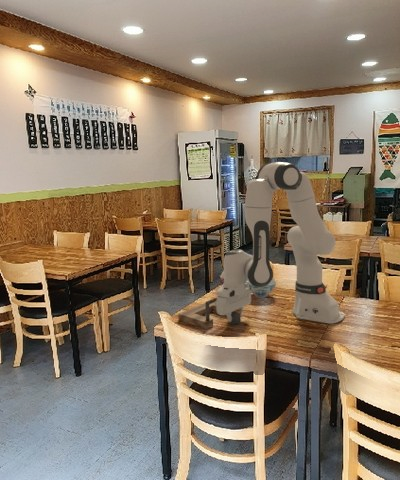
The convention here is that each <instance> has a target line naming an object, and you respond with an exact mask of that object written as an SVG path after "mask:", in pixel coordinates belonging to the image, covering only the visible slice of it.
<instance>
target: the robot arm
mask: <svg viewBox="0 0 400 480" xmlns="http://www.w3.org/2000/svg"><path fill="white" fill-rule="evenodd" d="M313 189H314V188H313V185H312V182H311V181H310V178H309V176H308V174H307V173H305V172H303V171H300V170H299V168H298V167H297V166H296V165H295V164H293V163H290V162H283V161H282V162H281V161H276V162H268V163H265V164H262V166H260V167H259V168H258V171H257V173H256V176H255V179H253V180H251V181H249V183H248V184H247V188H246V192H245V200H244V220H245V224H246V225H247V227H248V229H249V232H250V233H251V237H252V246H253V247H252V254H250V253H247V252H245V251H244V250H243V249H239V248H237V249H232V250H229V251H228V252H226V253H225V255H224V257H223V271H224V274H225V278H224V284H223V285H222V286H221V285H220V287H219V288H218V289H217V290H215V291H216V292H215V295H216V296H217V297H216V298H217V300H216V310H217V312H216V314H218V315H220V316H226V317H227V321H228V323H229V322H231V321H233V317H231V312H233V311H235V310H237V309H238V310H240V311H241V317H242V316H243V312H244V311H243V310H244V307H246V306H247V305H250V304H251V302H252V292H251V291H250V289H249V285H248V284H247V283H246V280H248V279H249V282H250V283H251V284H252V285H253V286H255V287H264V286H267V285H268V284H269V283H270V282H271V281H272V279H274V271H273V269H272V266H271V262H270V231H271V230H270V229H271V220H272V211H273V196H274V194H275V192H276V191H278V190H282V191H283V190H284V192H285V193H286V198H287V203H288V207H289V208H288V209H289V212H290V215H291V219H292V220H293V221H294V222H295V223H296V224H297V225H294V226H292V227H291V228H290V229H289V230H288V232H287V235H286V236H287V237H286V239H287V242H288V244H289V245H290V246H291V249H292V252H293V255H294V259H295V266H296V281H295V287H294V288H295V289H294V291H295V297H294V304H293V308H292V311H291V312H292V313H293V314H294V315H295V317H296V318H297V319H301V320H307V321H313V322H317V323H325V324H328V325H329V324H330V325H331V324H337V323H339V322H341V321H342V320H344V318H345V313H344V312H342V311H340V305H339V303H338V300H336V299H335V298H334V297H332V296H331V295H330V294H329V293H328V292H327V288H328V284H324V283H323V264H322V263H321V261H320V259H319V258H318V256H319V255H320V256H327V255H329V254H331V253H332V252H333V250H334V249H335V247H336V238H335V235H334V234H333V233H332V232H330V230H329V229H328V228H327V227H326V225H325V223H324V221H323V219H322V217H321V215H320V213H319V210H318V207H317V200H316V197H315V194H314V192H315V191H314V190H313Z"/></svg>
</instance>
